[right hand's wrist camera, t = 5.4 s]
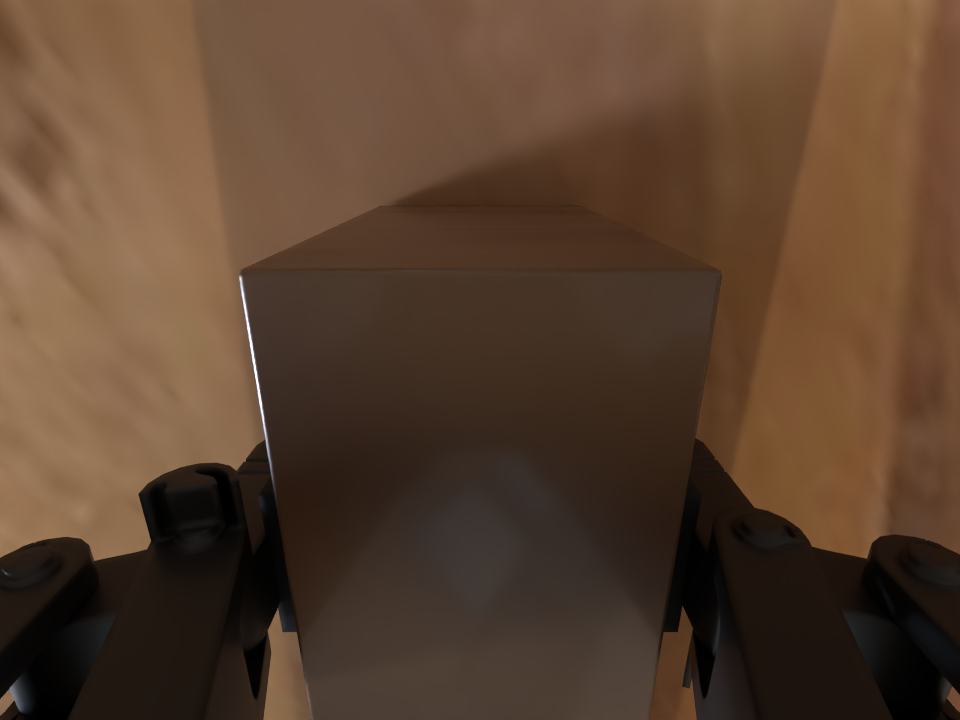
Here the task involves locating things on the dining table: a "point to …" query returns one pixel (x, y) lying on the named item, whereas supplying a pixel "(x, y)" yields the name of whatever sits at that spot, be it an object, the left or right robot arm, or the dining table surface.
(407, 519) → the bar
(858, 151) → the dining table surface
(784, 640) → the right robot arm
